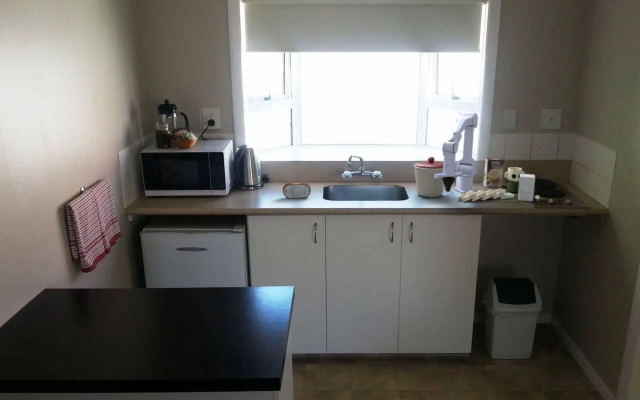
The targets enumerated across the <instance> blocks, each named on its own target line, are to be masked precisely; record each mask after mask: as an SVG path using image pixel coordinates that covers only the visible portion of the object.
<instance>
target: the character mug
mask: <svg viewBox="0 0 640 400" xmlns="http://www.w3.org/2000/svg"><path fill="white" fill-rule="evenodd" d="M520 174H526V173H525V171H523V168H522V167H516V166H514V167H513V166H512V167H508V168H507V171H505V172H504V178H505V179H507V180H508V184H507V188H506V189H507V190H506V191H508V192H509V193H515V192H517V193H519V181H520Z"/></svg>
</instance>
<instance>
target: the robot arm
mask: <svg viewBox="0 0 640 400" xmlns="http://www.w3.org/2000/svg"><path fill="white" fill-rule="evenodd" d="M455 121H456V126H455V128H454V130H452V131H451V133H450V134H449V137H448V139H447V140H446V141H443V143H442V147H441V148H442V156H443V173H440V174H435V178H436V179H438V178H442V180H443V182H444V188H445V189H444V190H445V192H447V193H449V192H451V190H452V186H453V184H454V182H456V183H455V187H454V190H455V191H456V190H457V192H458V191H459V192H461V193H463V194H465V193H467V192H469V191H471V190H472V191H474V192H476V190H475V189H473V186H474V185H473V183H474V176H476V175H477V172H478V163H477V160H475V159H474V158H473V147H474V145H473V144H474V131H475V129H476V128H477V127H478V125H479V123H478V121H479V116H478V113H476V112H461V111H460V112H458V113H457V114H456V118H455ZM463 132H464V133H463ZM462 133H463V135H462ZM463 136H464V137H463ZM462 137H463V148H462V149H463V150H462V157H461V158H459V159H458V161H457V165H456V157H457V156H456V155H457V153H458V150H459V145H460V142H461V139H462Z"/></svg>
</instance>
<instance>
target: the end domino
mask: <svg viewBox="0 0 640 400" xmlns="http://www.w3.org/2000/svg"><path fill="white" fill-rule="evenodd" d="M497 198H498V199H501V200H502V199H503V200H505V199H512V198H513V199H515V194H514V193H512V192H506V194H503V195H501V196H499V197H497Z"/></svg>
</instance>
